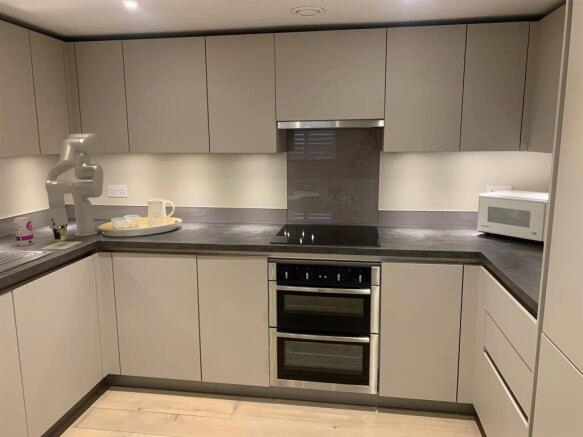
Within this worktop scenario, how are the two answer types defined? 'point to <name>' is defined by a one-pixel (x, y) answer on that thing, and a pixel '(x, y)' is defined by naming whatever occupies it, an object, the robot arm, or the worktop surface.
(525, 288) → the worktop surface
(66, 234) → the birch block
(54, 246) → the sage mat
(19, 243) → the supplement can
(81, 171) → the robot arm
